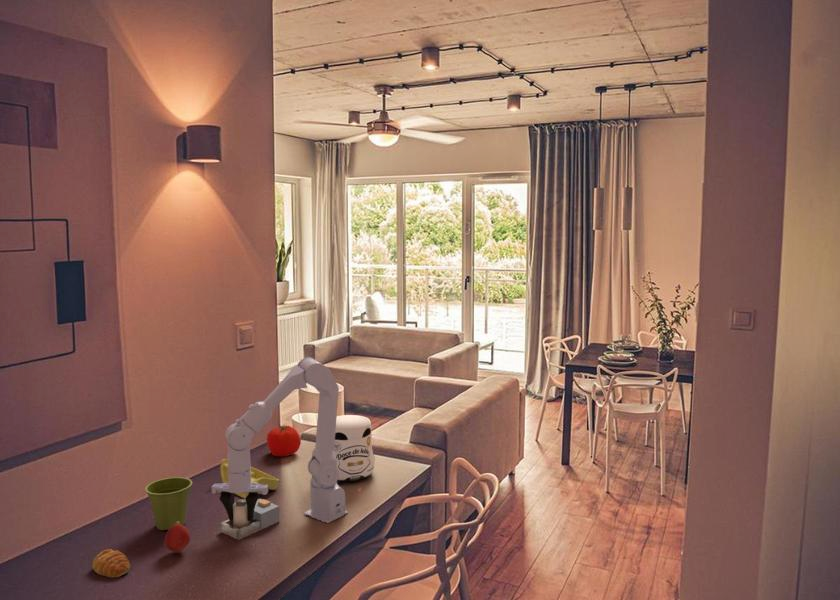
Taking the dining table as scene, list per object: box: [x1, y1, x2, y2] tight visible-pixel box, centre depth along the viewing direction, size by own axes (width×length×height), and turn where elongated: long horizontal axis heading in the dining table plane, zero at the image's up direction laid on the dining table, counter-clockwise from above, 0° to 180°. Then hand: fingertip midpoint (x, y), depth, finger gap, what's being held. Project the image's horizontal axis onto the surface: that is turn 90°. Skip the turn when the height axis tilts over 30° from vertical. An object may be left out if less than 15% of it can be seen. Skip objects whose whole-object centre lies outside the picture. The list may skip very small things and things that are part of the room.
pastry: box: [91, 548, 131, 578], centre depth 148 cm, size 9×7×4 cm
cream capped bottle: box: [233, 498, 250, 529], centre depth 167 cm, size 4×4×7 cm
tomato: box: [266, 424, 302, 457], centre depth 223 cm, size 11×13×10 cm
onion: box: [164, 522, 191, 554], centre depth 156 cm, size 6×6×8 cm
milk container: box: [334, 414, 376, 483], centre depth 204 cm, size 17×17×18 cm
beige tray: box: [219, 518, 261, 541], centre depth 167 cm, size 8×8×2 cm
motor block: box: [253, 498, 280, 529], centre depth 172 cm, size 8×6×5 cm
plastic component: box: [219, 458, 280, 500], centre depth 196 cm, size 20×7×10 cm
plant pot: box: [144, 476, 193, 531], centre depth 170 cm, size 12×12×11 cm
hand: (241, 519), depth 167 cm, fingers closed on cream capped bottle, 4 cm apart
